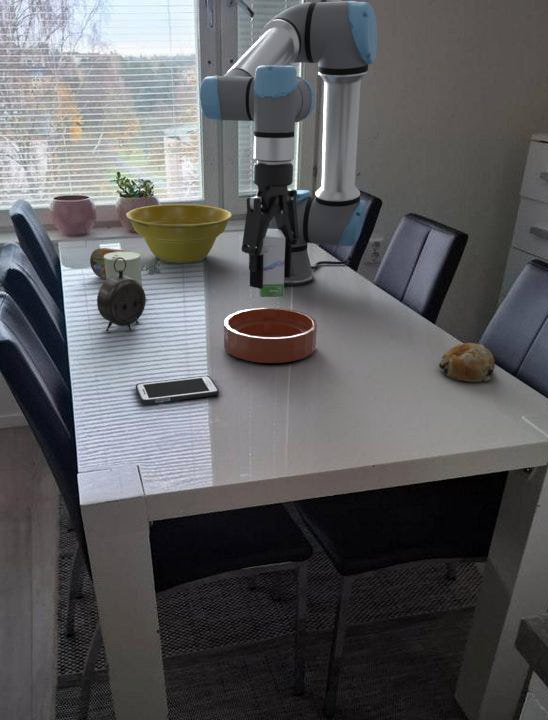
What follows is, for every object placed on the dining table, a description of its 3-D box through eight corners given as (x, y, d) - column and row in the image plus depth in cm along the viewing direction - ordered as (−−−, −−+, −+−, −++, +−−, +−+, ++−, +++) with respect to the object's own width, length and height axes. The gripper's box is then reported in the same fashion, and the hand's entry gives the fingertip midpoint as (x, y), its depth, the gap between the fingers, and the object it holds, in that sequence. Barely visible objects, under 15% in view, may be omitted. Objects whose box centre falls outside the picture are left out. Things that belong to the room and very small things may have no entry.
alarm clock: (137, 320, 159) (131, 251, 151) (151, 326, 156) (146, 255, 147) (99, 331, 153) (90, 259, 144) (112, 337, 150) (104, 264, 141)
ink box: (284, 297, 134) (286, 236, 128) (260, 297, 134) (261, 237, 128) (279, 285, 142) (281, 227, 135) (256, 285, 141) (257, 227, 135)
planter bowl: (251, 254, 214) (251, 210, 207) (191, 277, 191) (190, 228, 184) (172, 241, 229) (170, 200, 221) (108, 261, 206) (103, 215, 198)
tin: (91, 277, 191) (87, 247, 186) (97, 274, 193) (93, 244, 189) (136, 283, 186) (134, 252, 181) (142, 280, 188) (140, 249, 184)
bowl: (259, 327, 156) (259, 302, 153) (331, 346, 146) (333, 319, 143) (206, 352, 143) (205, 325, 139) (281, 374, 133) (282, 345, 129)
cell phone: (220, 395, 124) (220, 390, 123) (141, 405, 120) (141, 400, 119) (209, 379, 130) (209, 374, 129) (135, 388, 126) (134, 383, 126)
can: (100, 303, 171) (95, 255, 164) (122, 293, 177) (118, 247, 171) (130, 308, 167) (125, 260, 161) (151, 298, 174) (147, 251, 167)
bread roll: (470, 402, 130) (496, 372, 125) (428, 371, 132) (451, 340, 127) (484, 385, 138) (509, 355, 132) (444, 355, 139) (467, 325, 134)
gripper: (289, 155, 134) (284, 267, 146) (221, 165, 119) (223, 290, 131) (320, 158, 130) (313, 273, 142) (255, 169, 115) (253, 297, 127)
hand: (270, 281), depth 137 cm, fingers closed on ink box, 9 cm apart
